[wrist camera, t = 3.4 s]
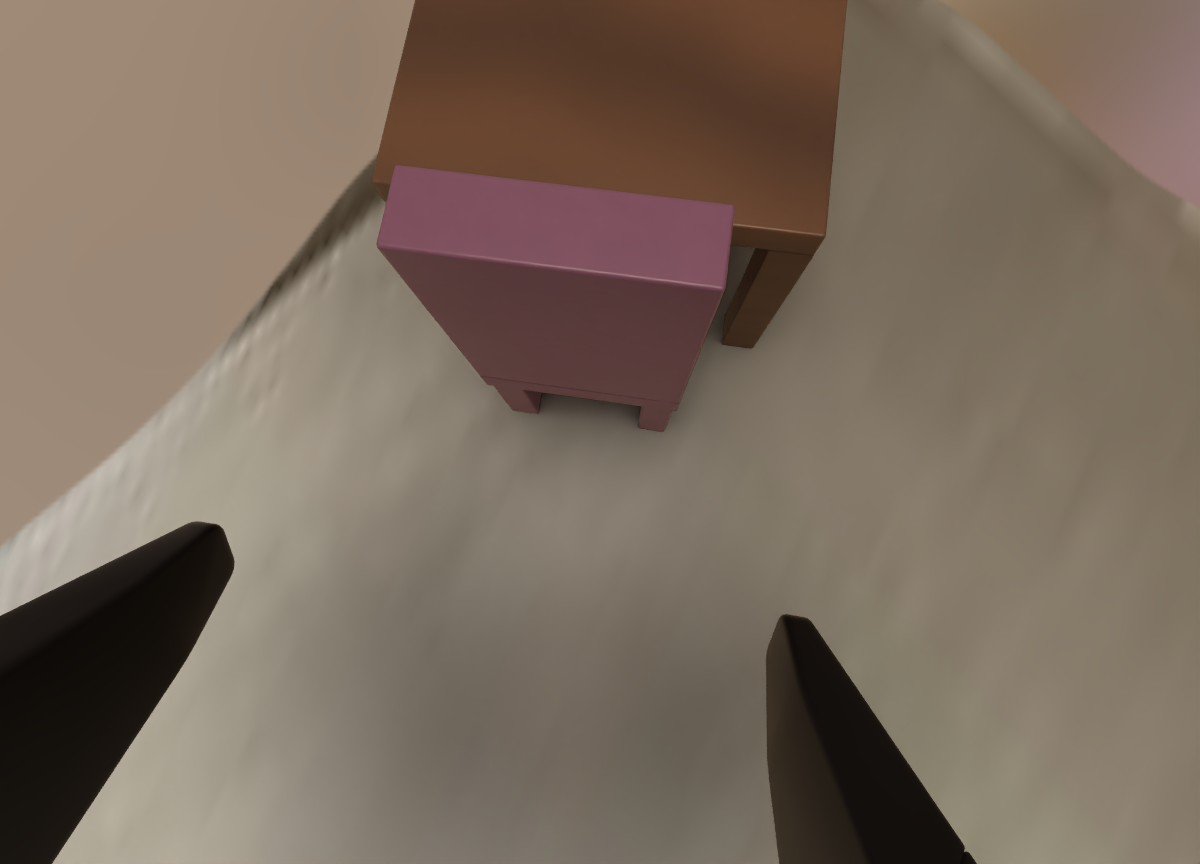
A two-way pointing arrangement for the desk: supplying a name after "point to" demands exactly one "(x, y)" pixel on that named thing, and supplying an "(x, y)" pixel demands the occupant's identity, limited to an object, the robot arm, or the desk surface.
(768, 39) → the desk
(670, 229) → the chair
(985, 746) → the desk surface
